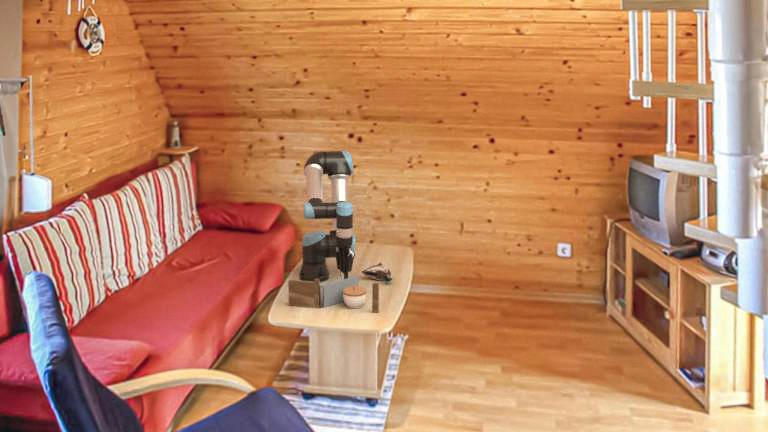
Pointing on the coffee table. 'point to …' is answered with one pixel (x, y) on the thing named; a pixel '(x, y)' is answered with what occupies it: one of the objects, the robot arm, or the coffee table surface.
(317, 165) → the robot arm
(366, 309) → the coffee table surface
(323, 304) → the door
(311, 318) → the coffee table surface
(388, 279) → the decorative duck model
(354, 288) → the lidded jar
